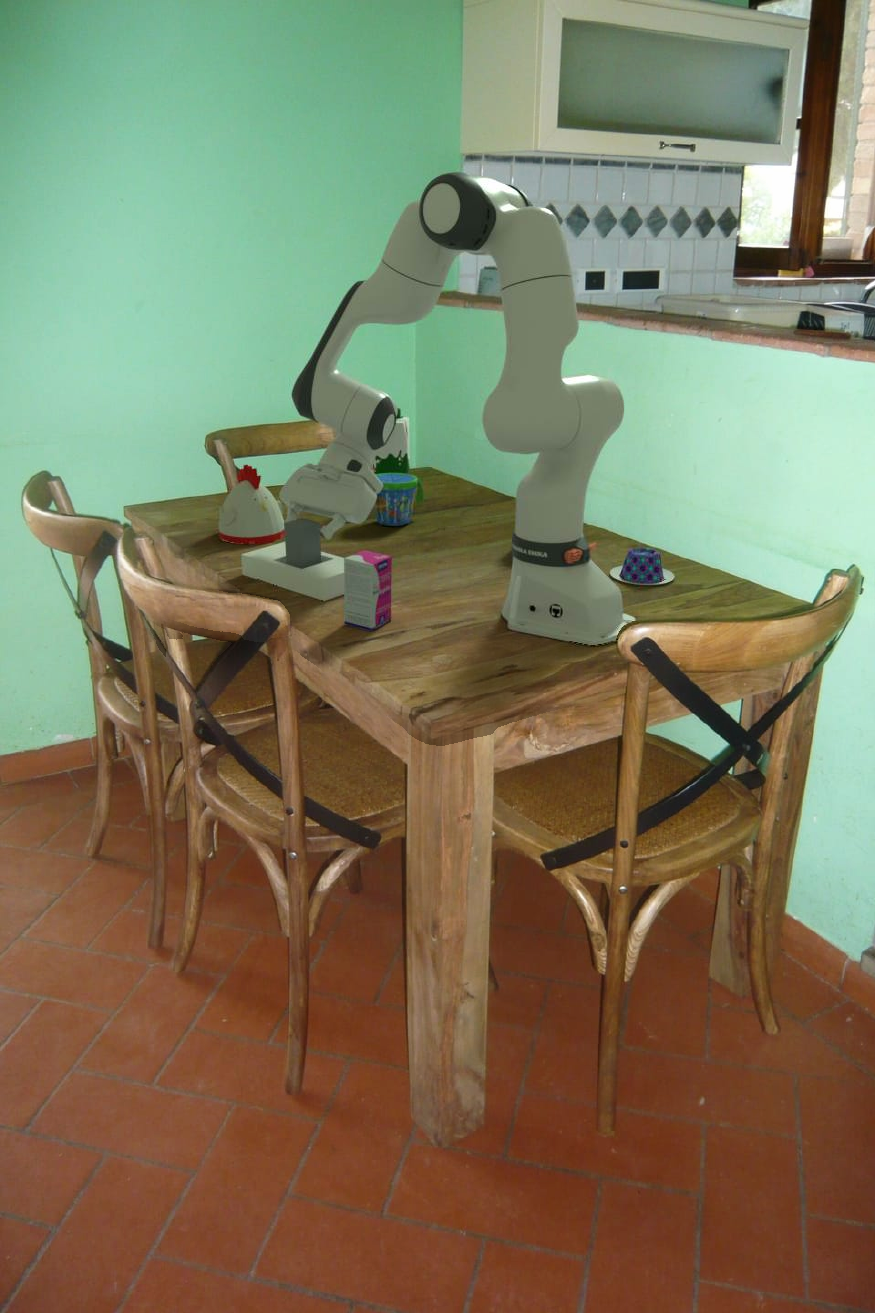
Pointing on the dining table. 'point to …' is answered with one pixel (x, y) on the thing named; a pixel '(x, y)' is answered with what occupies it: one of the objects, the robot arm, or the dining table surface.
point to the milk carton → (395, 450)
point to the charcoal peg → (302, 543)
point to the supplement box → (367, 590)
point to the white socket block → (296, 572)
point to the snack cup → (397, 498)
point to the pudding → (642, 568)
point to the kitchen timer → (250, 512)
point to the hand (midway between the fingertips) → (305, 532)
